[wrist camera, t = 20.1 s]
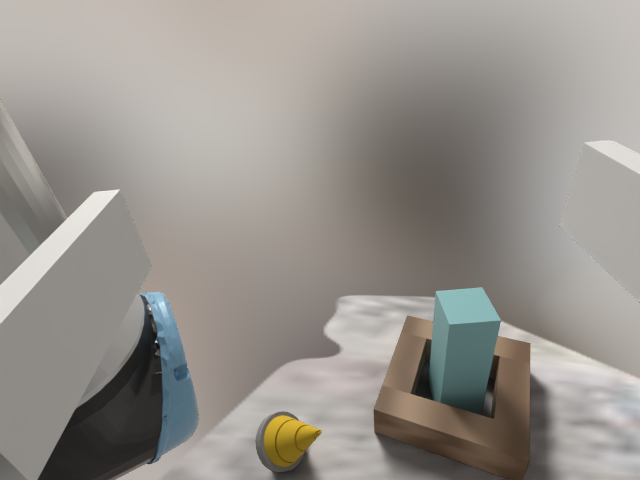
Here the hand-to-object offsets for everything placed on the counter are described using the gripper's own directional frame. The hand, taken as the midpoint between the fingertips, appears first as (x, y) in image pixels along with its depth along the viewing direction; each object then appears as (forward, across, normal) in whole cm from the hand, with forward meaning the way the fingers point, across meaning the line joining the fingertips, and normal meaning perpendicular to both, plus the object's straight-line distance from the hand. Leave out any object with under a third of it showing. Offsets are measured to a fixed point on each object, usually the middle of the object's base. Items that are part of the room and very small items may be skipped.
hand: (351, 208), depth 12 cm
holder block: (+16, +12, -34) cm, 40 cm away
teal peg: (+16, +12, -34) cm, 40 cm away
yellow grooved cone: (+12, -6, -35) cm, 37 cm away
